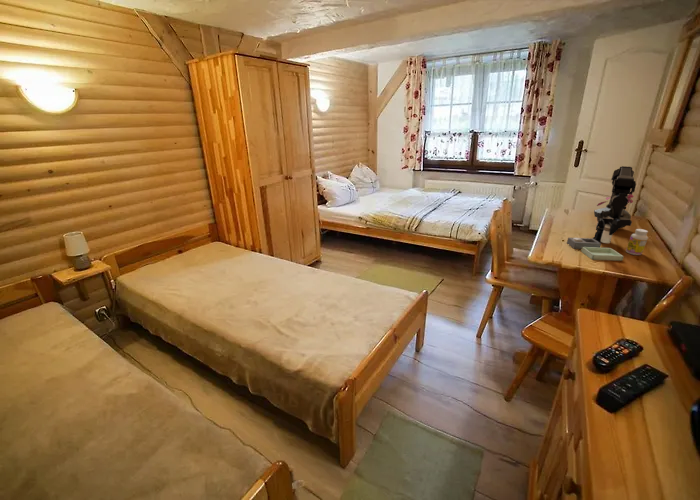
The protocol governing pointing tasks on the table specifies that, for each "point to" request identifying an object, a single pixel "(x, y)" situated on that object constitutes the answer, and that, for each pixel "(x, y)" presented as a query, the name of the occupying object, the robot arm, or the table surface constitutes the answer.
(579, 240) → the block
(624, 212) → the vase
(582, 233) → the table surface
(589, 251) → the parts tray
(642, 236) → the supplement bottle
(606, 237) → the cylinder
